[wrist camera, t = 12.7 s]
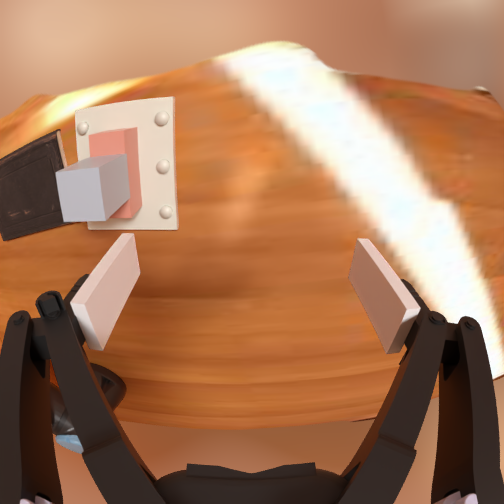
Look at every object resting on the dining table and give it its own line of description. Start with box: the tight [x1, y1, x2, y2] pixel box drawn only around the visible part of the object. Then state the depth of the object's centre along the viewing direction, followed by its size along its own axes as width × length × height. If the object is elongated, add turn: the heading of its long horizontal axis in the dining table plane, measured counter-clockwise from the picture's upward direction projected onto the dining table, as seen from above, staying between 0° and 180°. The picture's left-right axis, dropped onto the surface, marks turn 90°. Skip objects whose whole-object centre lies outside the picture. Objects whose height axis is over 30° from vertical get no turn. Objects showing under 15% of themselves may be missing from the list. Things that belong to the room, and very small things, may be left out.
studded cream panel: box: [75, 97, 179, 230], centre depth 36 cm, size 16×20×6 cm
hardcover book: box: [0, 129, 74, 241], centre depth 39 cm, size 16×23×2 cm
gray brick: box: [55, 154, 130, 222], centre depth 30 cm, size 6×6×8 cm
